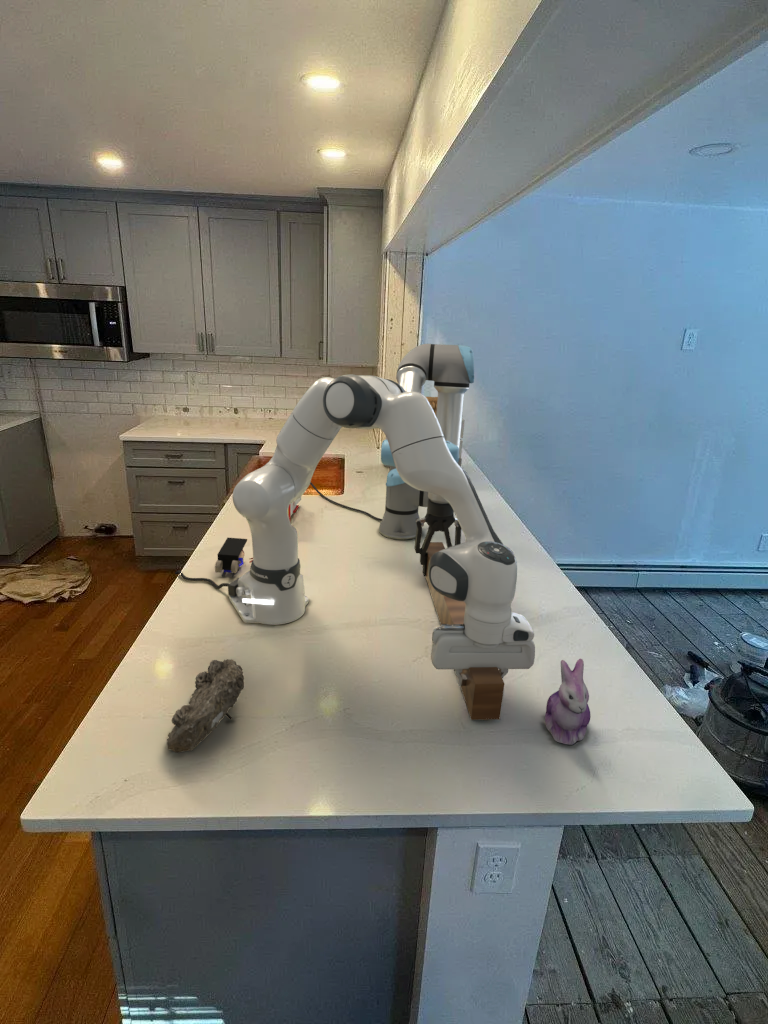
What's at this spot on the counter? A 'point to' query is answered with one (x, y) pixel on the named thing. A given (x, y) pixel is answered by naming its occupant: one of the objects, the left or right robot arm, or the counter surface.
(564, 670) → the figurine
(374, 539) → the counter surface
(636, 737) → the counter surface
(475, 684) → the post
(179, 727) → the fossil
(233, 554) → the figurine character
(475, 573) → the left robot arm
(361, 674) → the counter surface
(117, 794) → the counter surface
